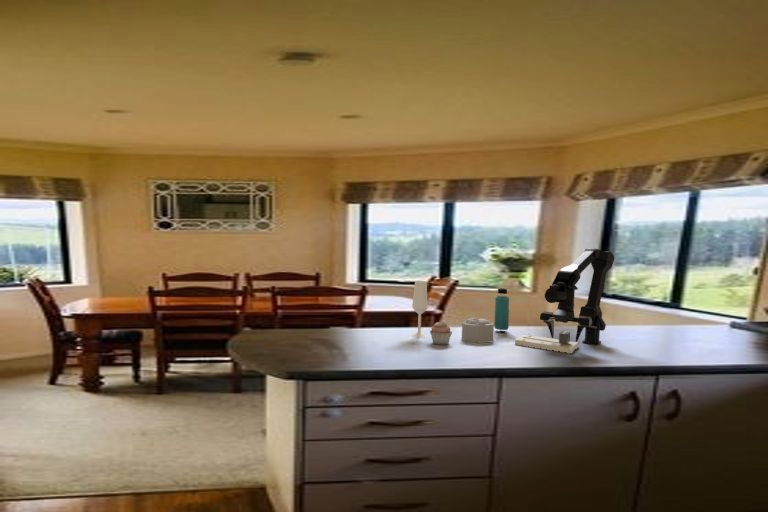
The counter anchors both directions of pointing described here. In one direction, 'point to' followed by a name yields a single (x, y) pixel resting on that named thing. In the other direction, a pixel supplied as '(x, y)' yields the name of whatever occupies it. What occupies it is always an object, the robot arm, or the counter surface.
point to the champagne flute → (420, 304)
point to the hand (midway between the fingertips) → (564, 339)
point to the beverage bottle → (501, 310)
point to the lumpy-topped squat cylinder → (477, 330)
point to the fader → (564, 337)
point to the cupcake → (440, 333)
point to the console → (546, 343)
